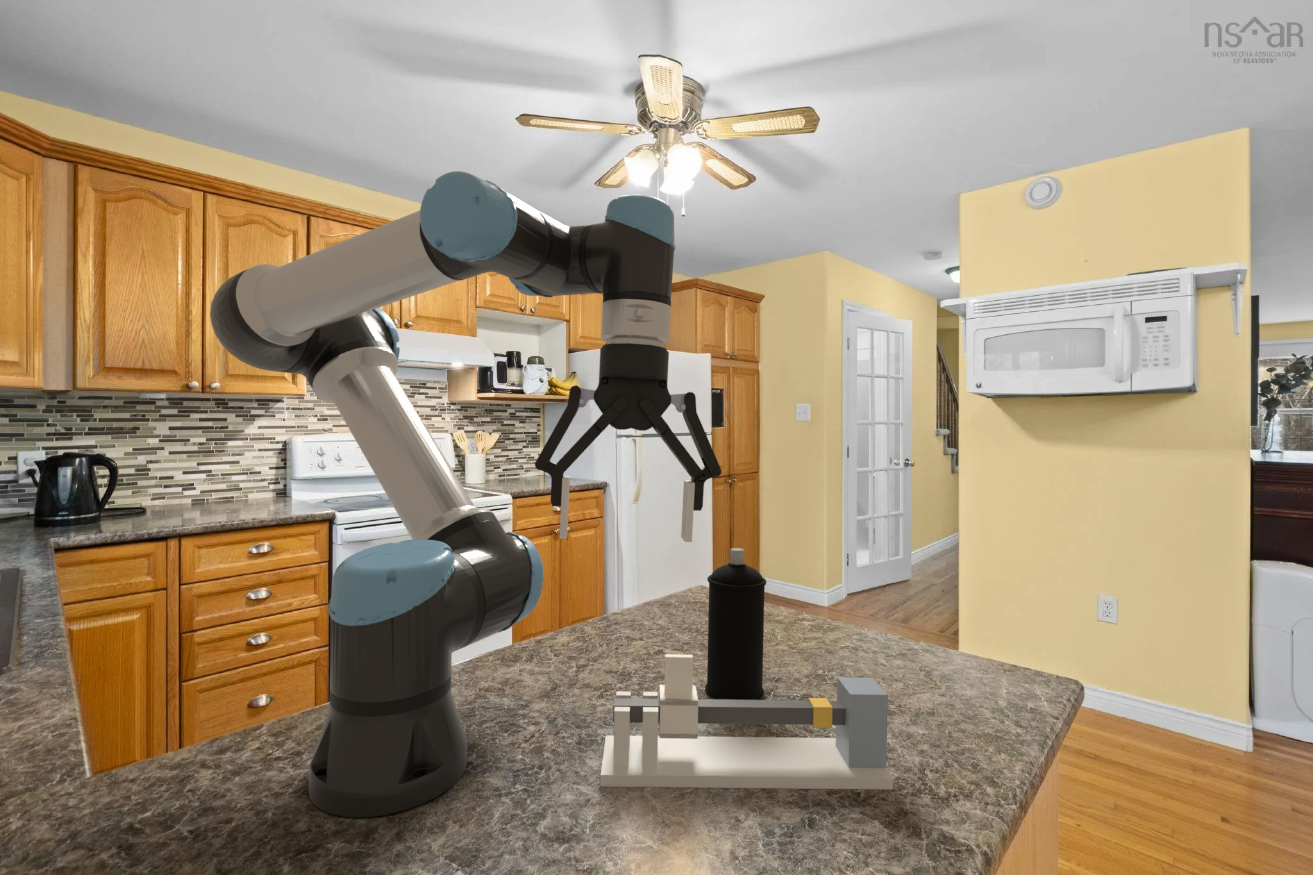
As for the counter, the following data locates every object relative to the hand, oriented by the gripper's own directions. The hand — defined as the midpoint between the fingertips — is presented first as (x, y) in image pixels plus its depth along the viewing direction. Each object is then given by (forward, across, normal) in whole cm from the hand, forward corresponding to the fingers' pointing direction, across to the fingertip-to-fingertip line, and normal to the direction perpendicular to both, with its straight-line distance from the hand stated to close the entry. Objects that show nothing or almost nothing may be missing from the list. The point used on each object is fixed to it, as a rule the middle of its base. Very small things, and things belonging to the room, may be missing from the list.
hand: (625, 538), depth 67 cm
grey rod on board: (+24, +14, -3) cm, 28 cm away
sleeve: (+20, +6, -2) cm, 21 cm away
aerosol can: (+24, +18, +15) cm, 34 cm away
